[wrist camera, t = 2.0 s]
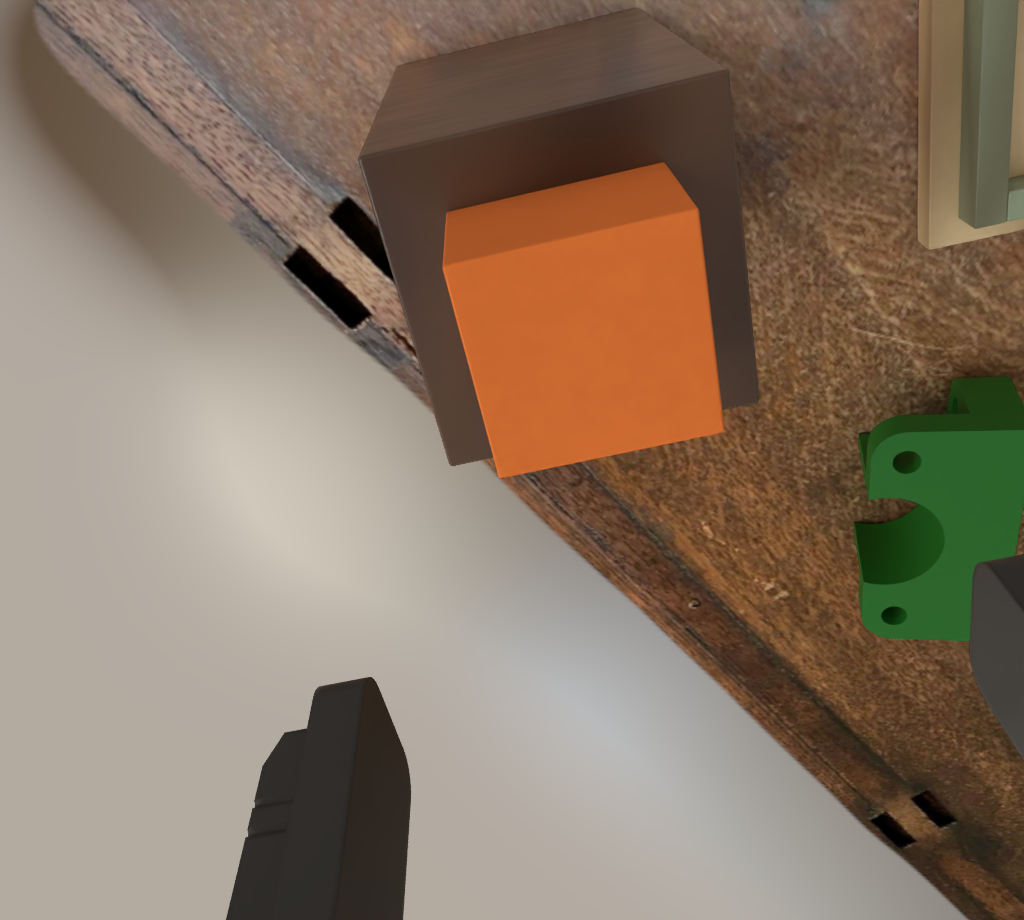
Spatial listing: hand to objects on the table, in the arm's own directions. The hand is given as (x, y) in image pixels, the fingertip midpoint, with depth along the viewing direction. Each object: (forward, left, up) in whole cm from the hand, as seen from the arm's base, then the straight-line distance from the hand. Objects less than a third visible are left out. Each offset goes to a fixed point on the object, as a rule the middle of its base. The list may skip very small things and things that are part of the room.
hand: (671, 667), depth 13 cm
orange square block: (0, 0, -14) cm, 14 cm away
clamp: (+23, -3, -28) cm, 36 cm away
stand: (0, 0, -28) cm, 28 cm away
